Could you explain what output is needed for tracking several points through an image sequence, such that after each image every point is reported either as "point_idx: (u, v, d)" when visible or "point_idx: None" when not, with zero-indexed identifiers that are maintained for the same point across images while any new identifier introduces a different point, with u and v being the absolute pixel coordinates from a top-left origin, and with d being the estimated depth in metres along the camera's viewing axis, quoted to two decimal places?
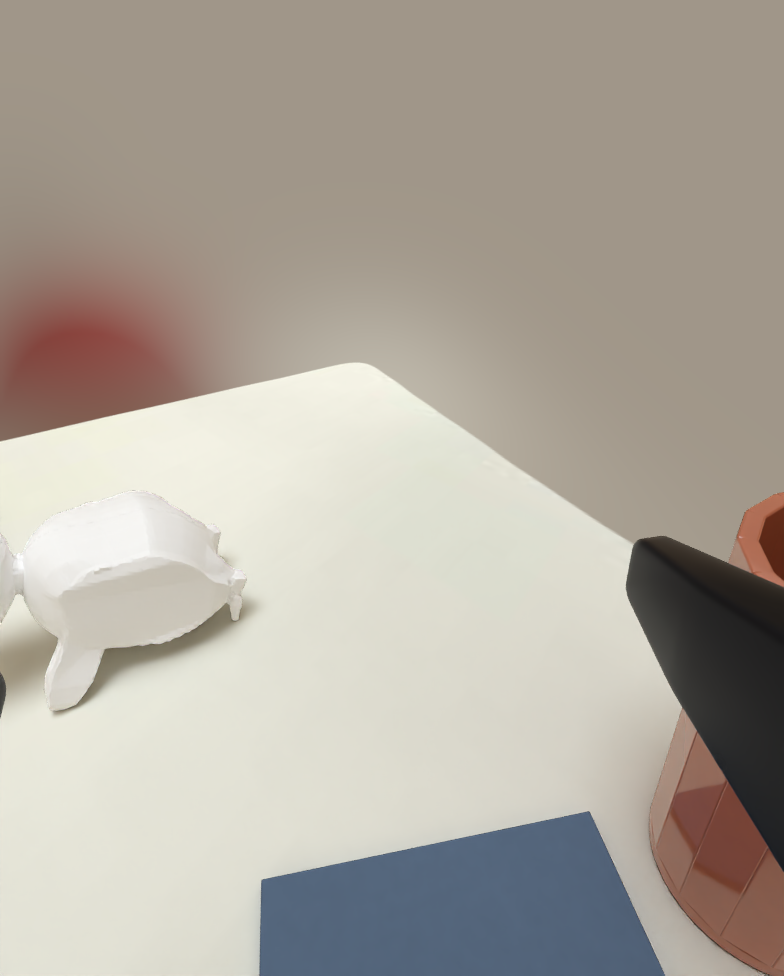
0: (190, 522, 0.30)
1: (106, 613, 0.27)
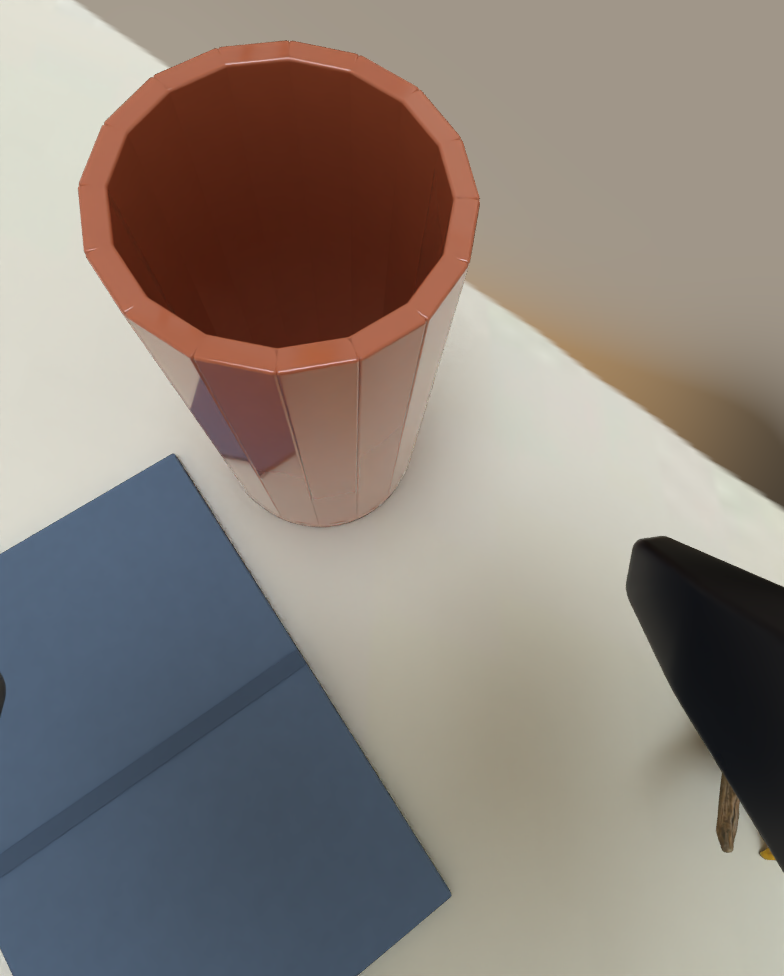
0: None
1: None
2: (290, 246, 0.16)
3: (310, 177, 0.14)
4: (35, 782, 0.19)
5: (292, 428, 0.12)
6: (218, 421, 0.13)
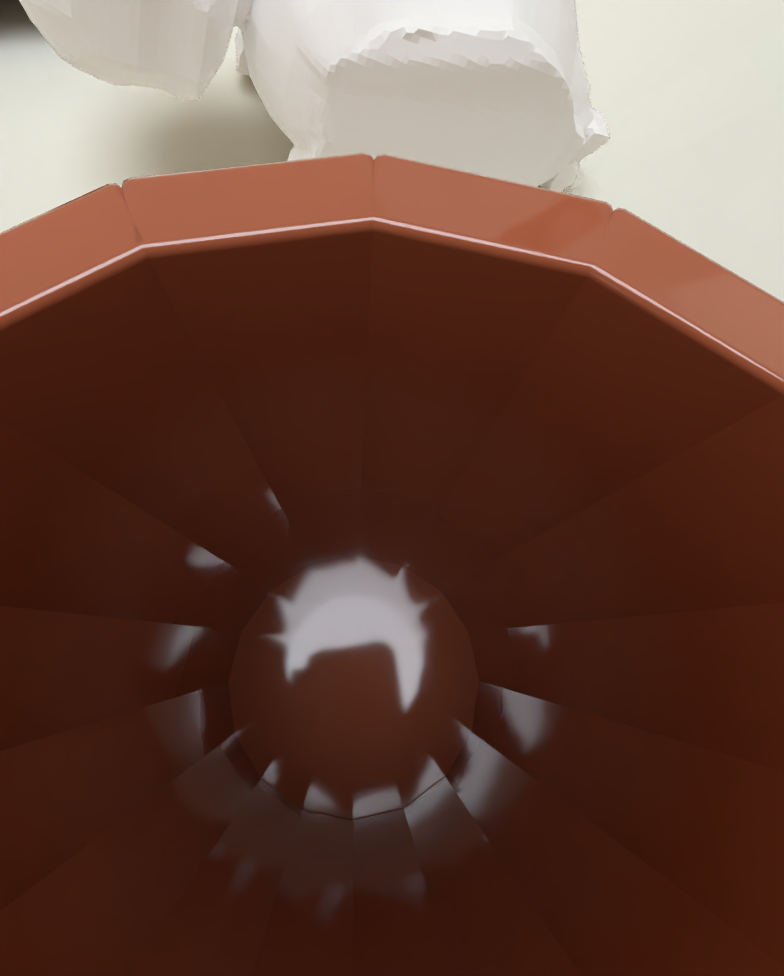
0: None
1: (392, 132, 0.15)
2: (323, 492, 0.08)
3: (385, 426, 0.06)
4: None
5: None
6: None
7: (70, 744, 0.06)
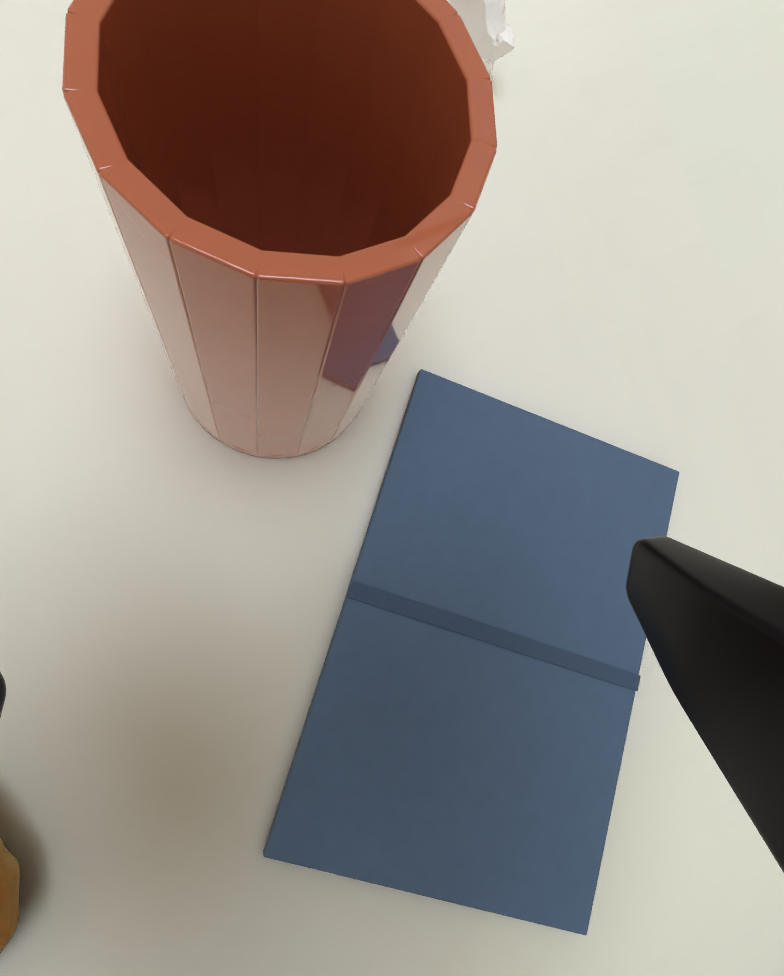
0: None
1: None
2: (283, 153, 0.15)
3: (321, 81, 0.13)
4: (435, 572, 0.22)
5: (257, 342, 0.11)
6: (177, 318, 0.12)
7: None
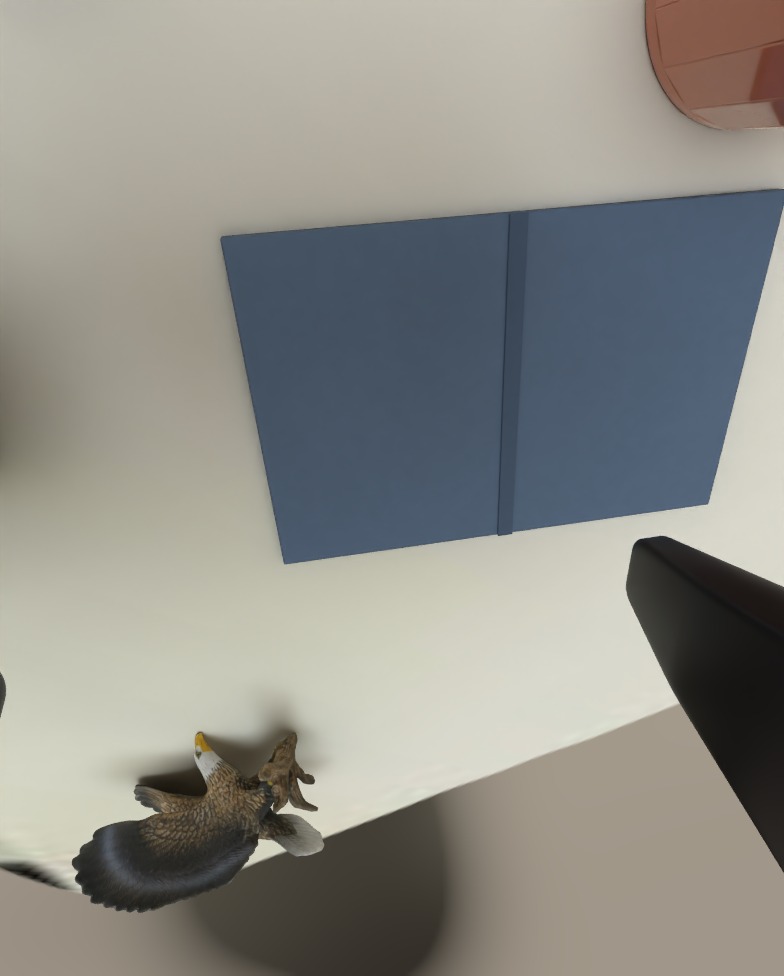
0: None
1: None
2: None
3: None
4: (559, 303, 0.19)
5: None
6: None
7: None
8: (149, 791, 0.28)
